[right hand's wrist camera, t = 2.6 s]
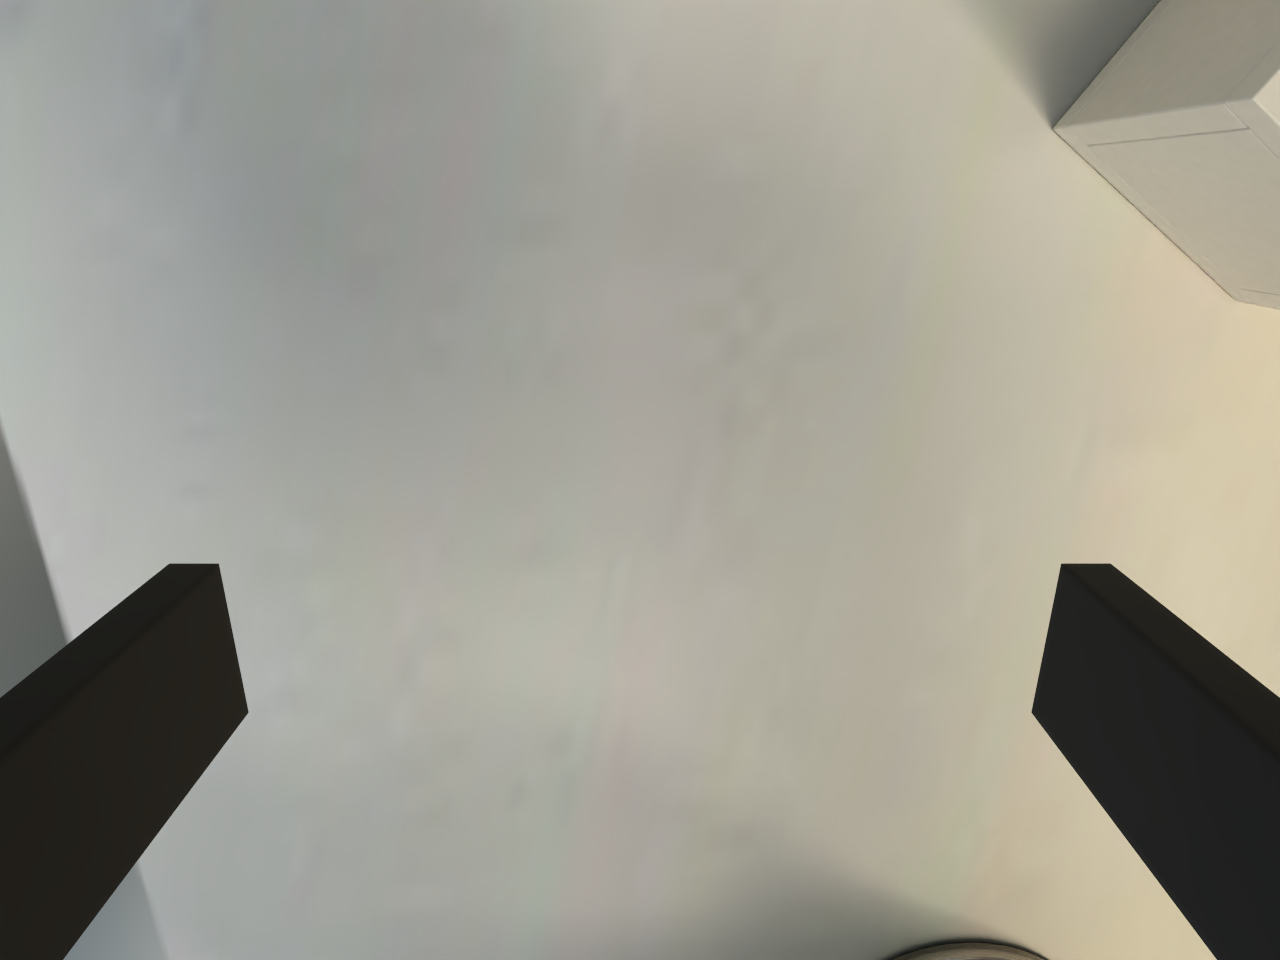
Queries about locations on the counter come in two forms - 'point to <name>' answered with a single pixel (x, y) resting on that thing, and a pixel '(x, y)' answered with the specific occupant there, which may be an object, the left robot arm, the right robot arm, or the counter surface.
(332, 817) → the counter surface
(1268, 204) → the cabinet
